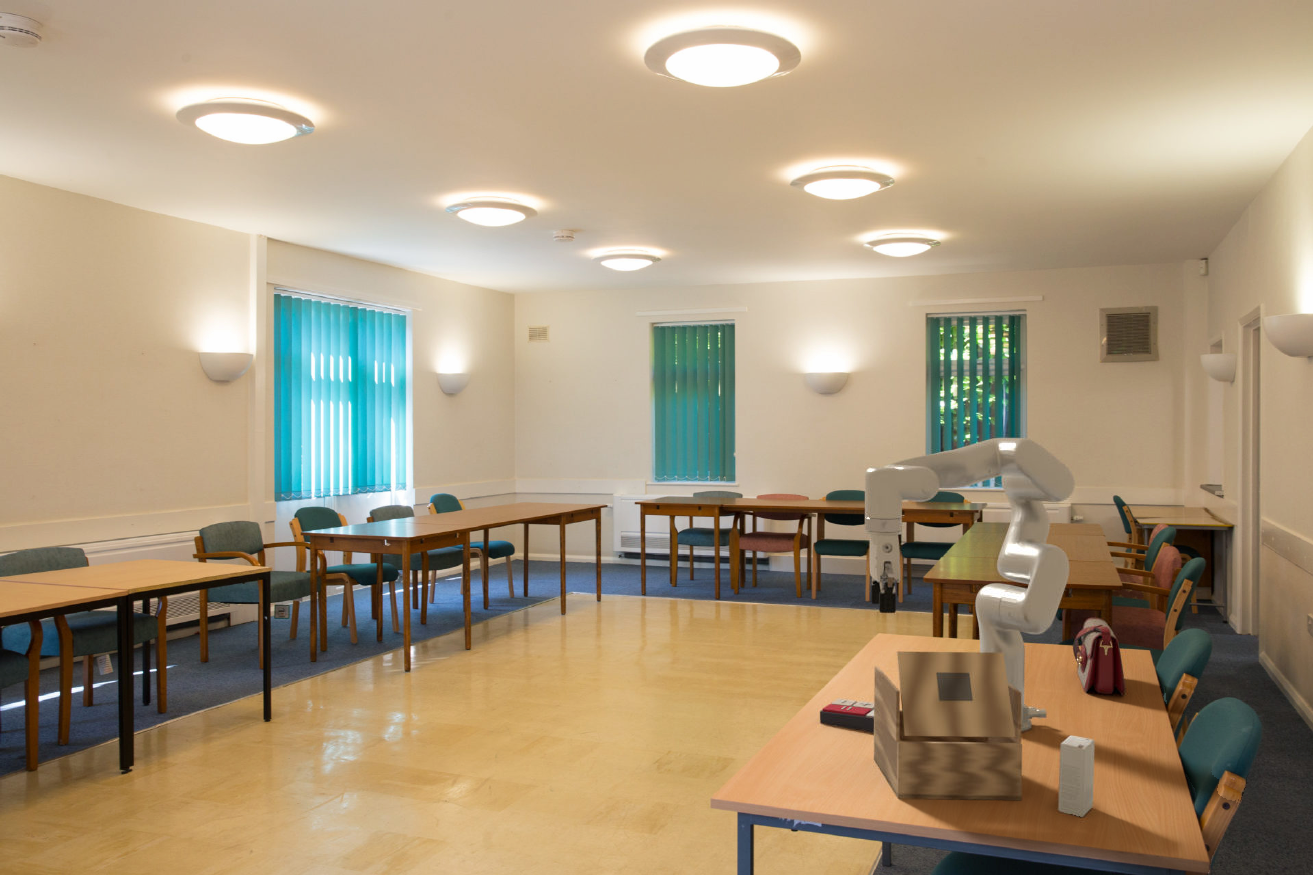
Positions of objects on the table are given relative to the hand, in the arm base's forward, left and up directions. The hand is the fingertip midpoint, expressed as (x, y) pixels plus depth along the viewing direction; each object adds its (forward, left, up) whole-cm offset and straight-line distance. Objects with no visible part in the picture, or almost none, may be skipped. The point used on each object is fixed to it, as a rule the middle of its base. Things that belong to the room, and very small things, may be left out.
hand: (883, 608), depth 193 cm
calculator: (+1, -16, -30) cm, 34 cm away
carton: (-8, +18, -29) cm, 35 cm away
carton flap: (-8, +24, -11) cm, 27 cm away
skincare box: (-27, +32, -29) cm, 51 cm away
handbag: (-68, -51, -29) cm, 90 cm away
